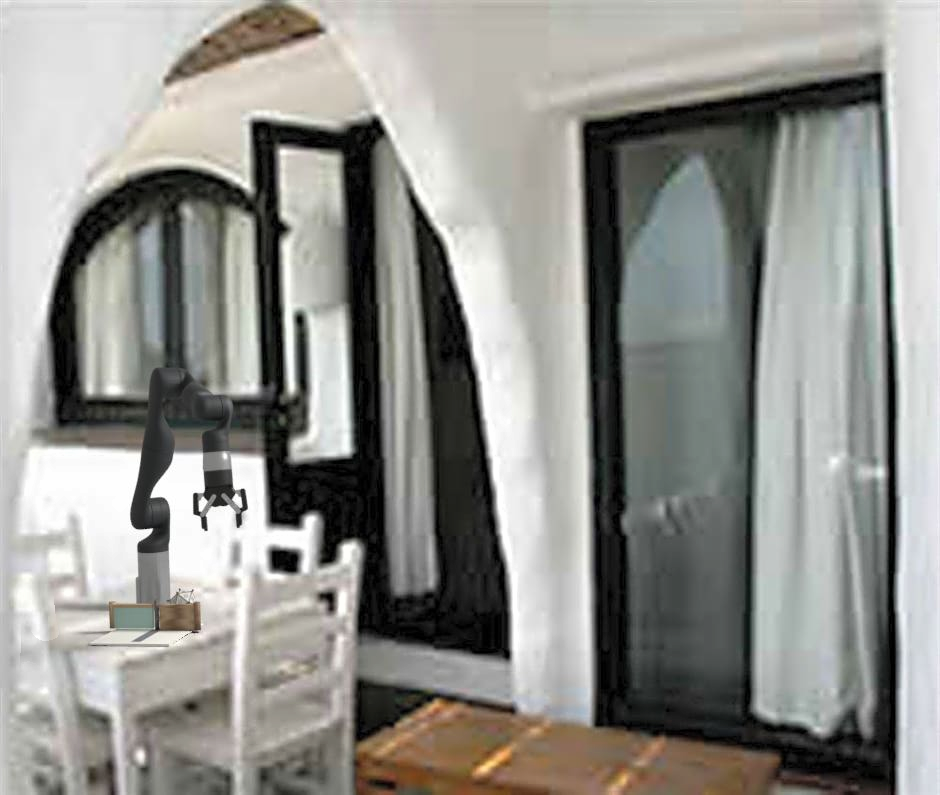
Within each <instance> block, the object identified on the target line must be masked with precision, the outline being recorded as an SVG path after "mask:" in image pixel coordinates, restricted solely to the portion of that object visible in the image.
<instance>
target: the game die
mask: <svg viewBox="0 0 940 795" xmlns="http://www.w3.org/2000/svg"><path fill="white" fill-rule="evenodd" d="M194 591H195V590H194V589H193V588H192V589H191V590H182V589H181V588H178V591H175V594H174V596H173V597H172V598H171V600H166V601H167V602H170V604H193V602H197V600H196V597H195V595H194V593H193V592H194ZM200 607H202V605H201V604H200Z"/></svg>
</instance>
